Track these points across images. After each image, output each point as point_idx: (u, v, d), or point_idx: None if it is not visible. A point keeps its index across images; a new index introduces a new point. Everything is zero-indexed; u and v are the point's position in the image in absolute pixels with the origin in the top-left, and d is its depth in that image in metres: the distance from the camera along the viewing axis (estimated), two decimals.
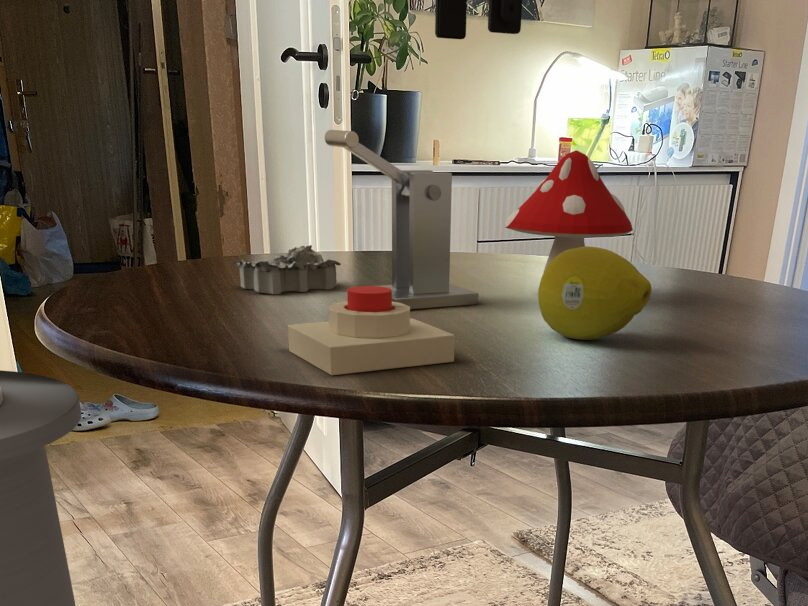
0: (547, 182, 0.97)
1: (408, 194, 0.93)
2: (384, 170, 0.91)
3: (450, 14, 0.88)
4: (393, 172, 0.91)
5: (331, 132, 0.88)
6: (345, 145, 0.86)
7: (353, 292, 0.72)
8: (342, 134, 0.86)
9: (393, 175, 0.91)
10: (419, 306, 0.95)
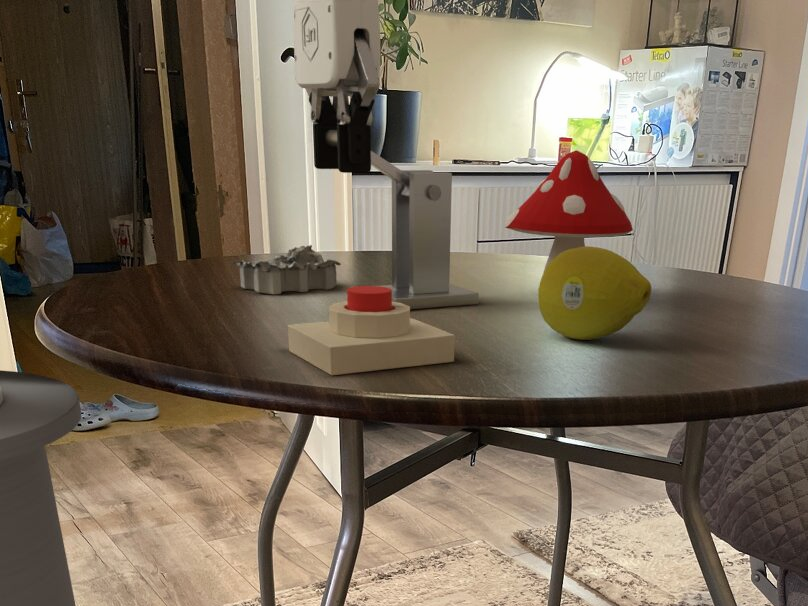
0: (547, 182, 0.97)
1: (408, 194, 0.93)
2: (384, 170, 0.91)
3: (328, 147, 0.90)
4: (393, 172, 0.91)
5: (331, 132, 0.88)
6: None
7: (353, 292, 0.72)
8: None
9: (393, 175, 0.91)
10: (419, 306, 0.95)
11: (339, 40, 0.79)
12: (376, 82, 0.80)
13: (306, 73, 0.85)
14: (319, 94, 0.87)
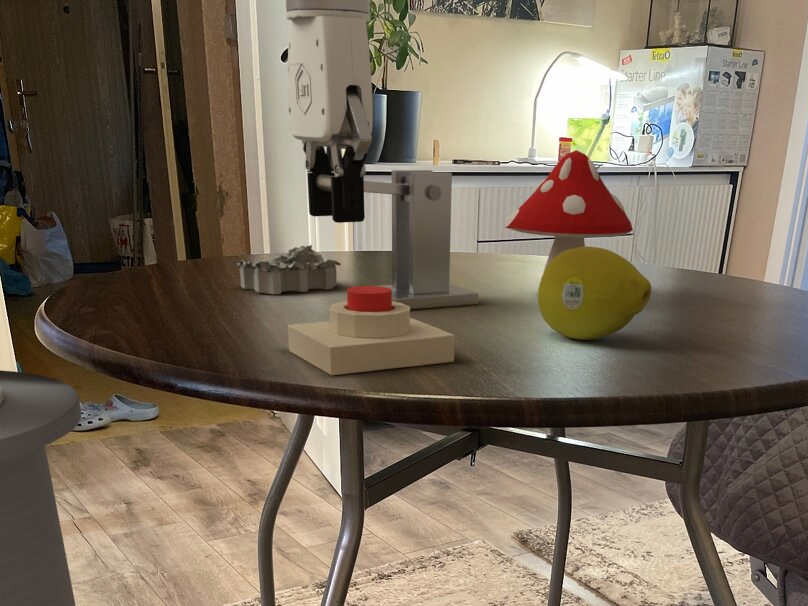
0: (547, 182, 0.97)
1: None
2: (381, 192, 0.91)
3: (322, 195, 0.92)
4: (389, 189, 0.92)
5: (320, 180, 0.90)
6: None
7: (353, 292, 0.72)
8: None
9: (390, 192, 0.92)
10: (419, 306, 0.95)
11: (332, 97, 0.81)
12: (368, 138, 0.82)
13: (300, 126, 0.87)
14: (313, 145, 0.89)
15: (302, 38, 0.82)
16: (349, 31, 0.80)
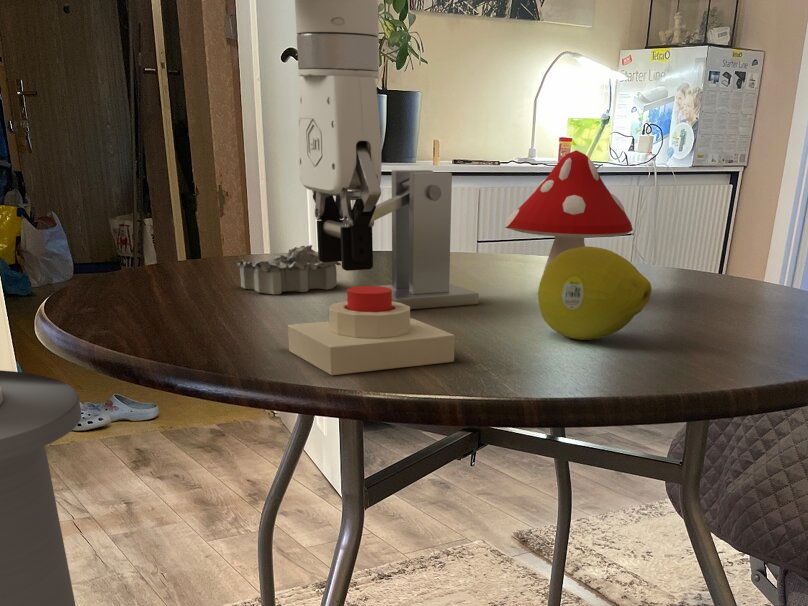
0: (547, 182, 0.97)
1: None
2: (385, 214, 0.93)
3: (331, 242, 0.94)
4: (392, 207, 0.93)
5: (327, 229, 0.92)
6: None
7: (353, 292, 0.72)
8: (339, 234, 0.90)
9: (394, 209, 0.93)
10: (419, 306, 0.95)
11: (342, 153, 0.84)
12: (377, 191, 0.84)
13: (310, 177, 0.89)
14: (323, 194, 0.92)
15: (313, 95, 0.85)
16: (359, 90, 0.82)
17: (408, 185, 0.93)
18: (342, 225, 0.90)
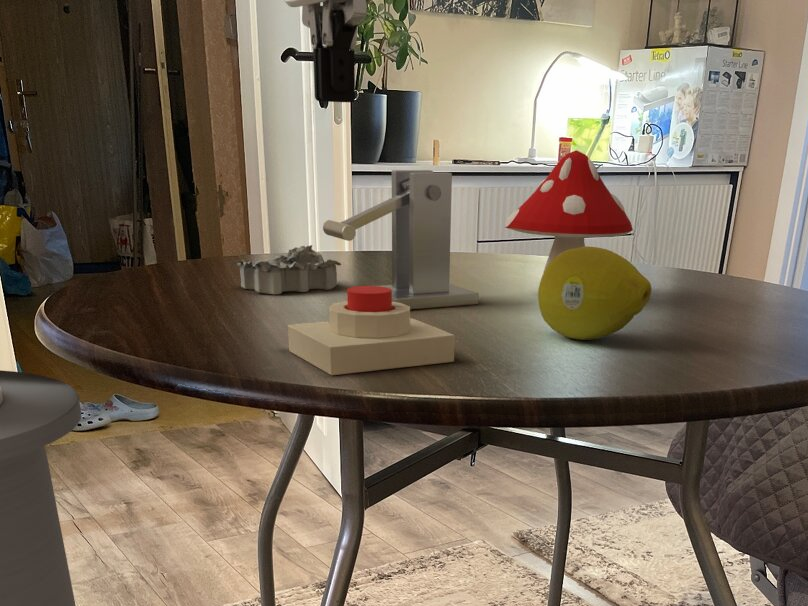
0: (547, 182, 0.97)
1: None
2: (385, 214, 0.93)
3: None
4: (392, 207, 0.93)
5: (327, 229, 0.92)
6: None
7: (353, 292, 0.72)
8: (339, 234, 0.90)
9: (394, 209, 0.93)
10: (419, 306, 0.95)
11: None
12: (363, 13, 0.75)
13: None
14: (316, 10, 0.78)
15: None
16: None
17: (408, 185, 0.93)
18: (342, 225, 0.90)
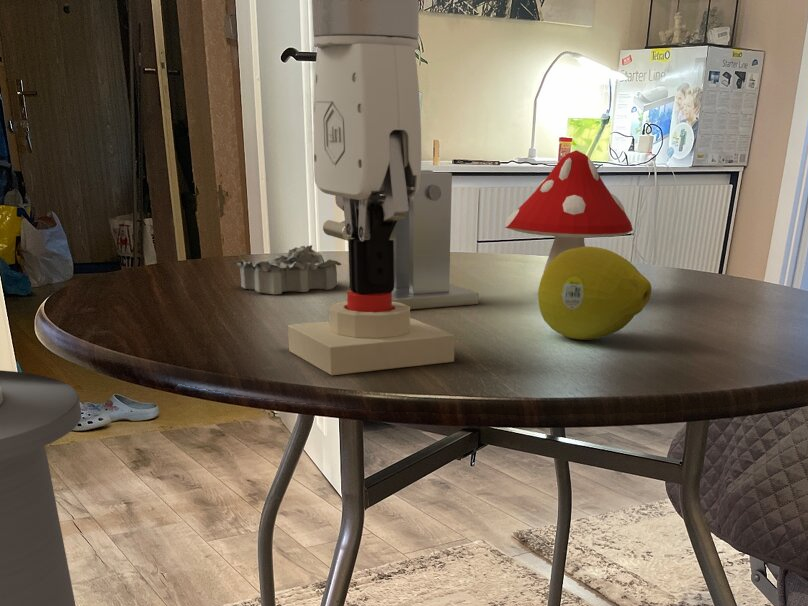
0: (547, 182, 0.97)
1: None
2: None
3: None
4: None
5: (327, 229, 0.92)
6: None
7: (353, 295, 0.72)
8: (339, 234, 0.90)
9: None
10: (419, 306, 0.95)
11: (372, 145, 0.64)
12: (404, 213, 0.67)
13: (329, 178, 0.69)
14: (352, 199, 0.71)
15: (333, 71, 0.65)
16: (395, 62, 0.63)
17: None
18: (342, 225, 0.90)
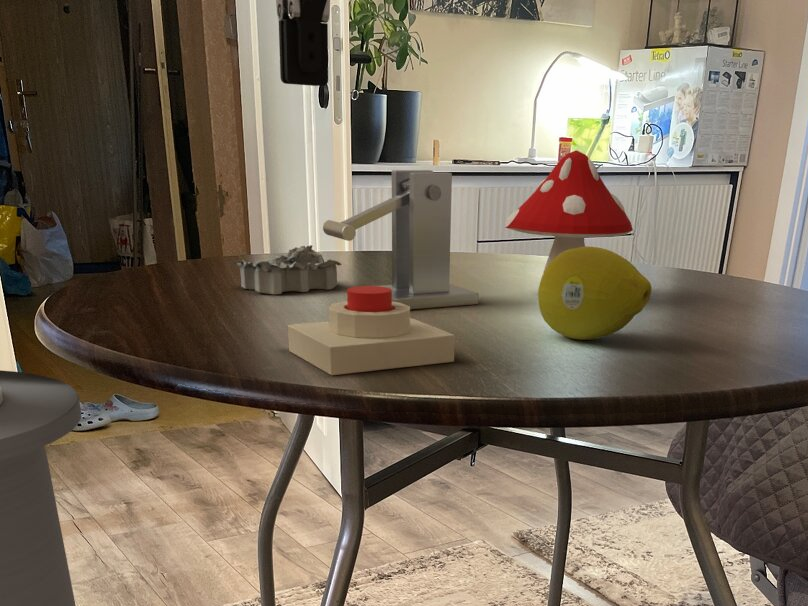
0: (547, 182, 0.97)
1: None
2: (385, 214, 0.93)
3: None
4: (392, 207, 0.93)
5: (327, 229, 0.92)
6: None
7: (353, 292, 0.72)
8: (339, 234, 0.90)
9: (394, 209, 0.93)
10: (419, 306, 0.95)
11: None
12: None
13: None
14: None
15: None
16: None
17: (408, 185, 0.93)
18: (342, 225, 0.90)
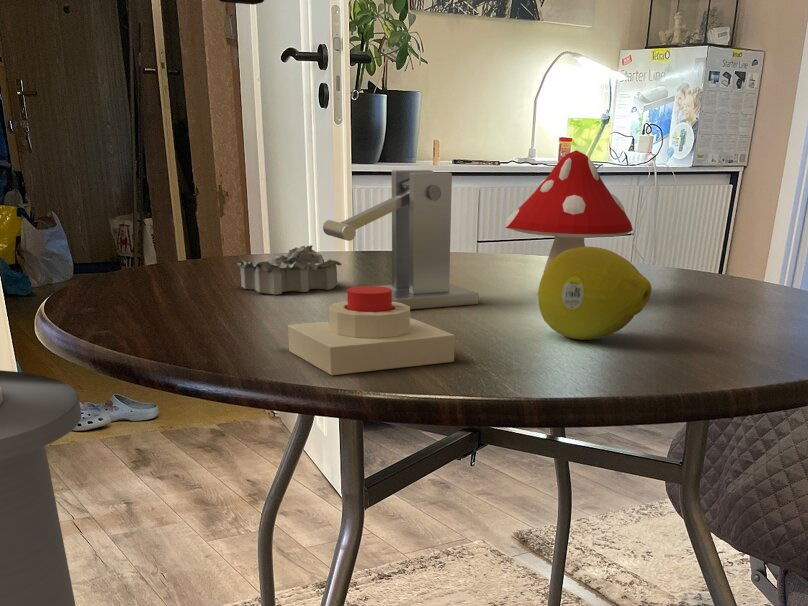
0: (547, 182, 0.97)
1: None
2: (385, 214, 0.93)
3: None
4: (392, 207, 0.93)
5: (327, 229, 0.92)
6: None
7: (353, 292, 0.72)
8: (339, 234, 0.90)
9: (394, 209, 0.93)
10: (419, 306, 0.95)
11: None
12: None
13: None
14: None
15: None
16: None
17: (408, 185, 0.93)
18: (342, 225, 0.90)
